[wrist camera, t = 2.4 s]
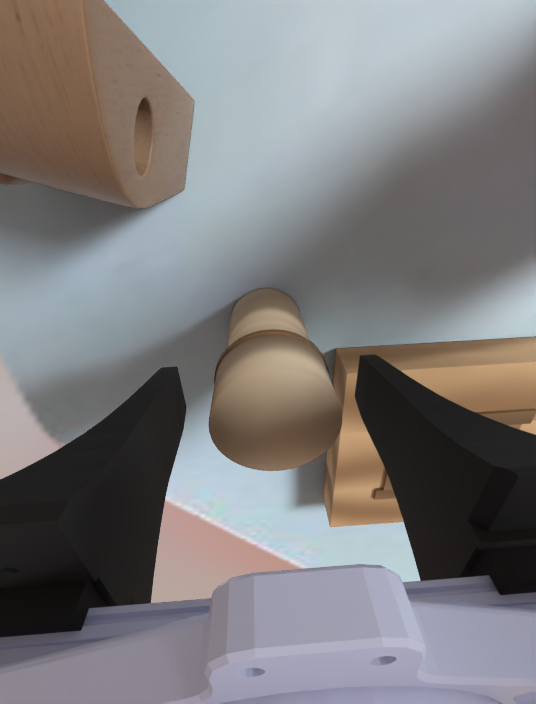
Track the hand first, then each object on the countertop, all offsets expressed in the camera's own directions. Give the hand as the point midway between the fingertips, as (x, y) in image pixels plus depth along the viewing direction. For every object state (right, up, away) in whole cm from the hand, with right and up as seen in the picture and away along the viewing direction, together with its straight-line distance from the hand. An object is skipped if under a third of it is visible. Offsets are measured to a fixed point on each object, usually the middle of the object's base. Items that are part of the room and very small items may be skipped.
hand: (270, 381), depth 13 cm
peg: (0, +3, +5) cm, 6 cm away
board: (+11, -4, +10) cm, 15 cm away
